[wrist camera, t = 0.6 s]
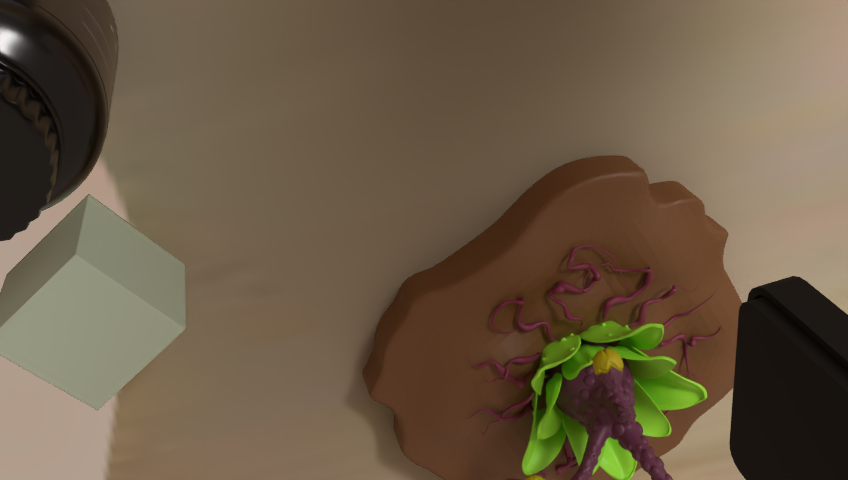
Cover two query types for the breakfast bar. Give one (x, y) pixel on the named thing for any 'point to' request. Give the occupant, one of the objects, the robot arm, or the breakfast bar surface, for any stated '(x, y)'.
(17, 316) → the sage cube
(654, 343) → the plant
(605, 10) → the breakfast bar surface
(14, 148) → the supplement bottle
